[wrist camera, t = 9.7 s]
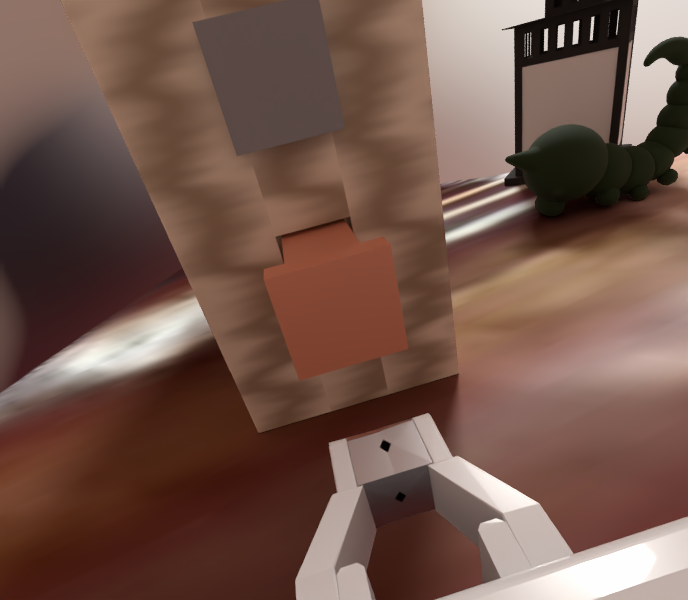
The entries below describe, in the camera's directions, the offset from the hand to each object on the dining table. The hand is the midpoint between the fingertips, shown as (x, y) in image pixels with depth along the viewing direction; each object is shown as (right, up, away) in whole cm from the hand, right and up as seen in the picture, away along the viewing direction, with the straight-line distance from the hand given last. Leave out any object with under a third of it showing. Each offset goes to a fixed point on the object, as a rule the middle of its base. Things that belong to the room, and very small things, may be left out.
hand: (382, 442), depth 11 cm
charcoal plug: (-5, +14, +12) cm, 19 cm away
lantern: (+39, +28, +58) cm, 75 cm away
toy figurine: (+33, +17, +42) cm, 56 cm away
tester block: (0, -2, +21) cm, 21 cm away
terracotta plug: (-1, +3, +12) cm, 12 cm away
